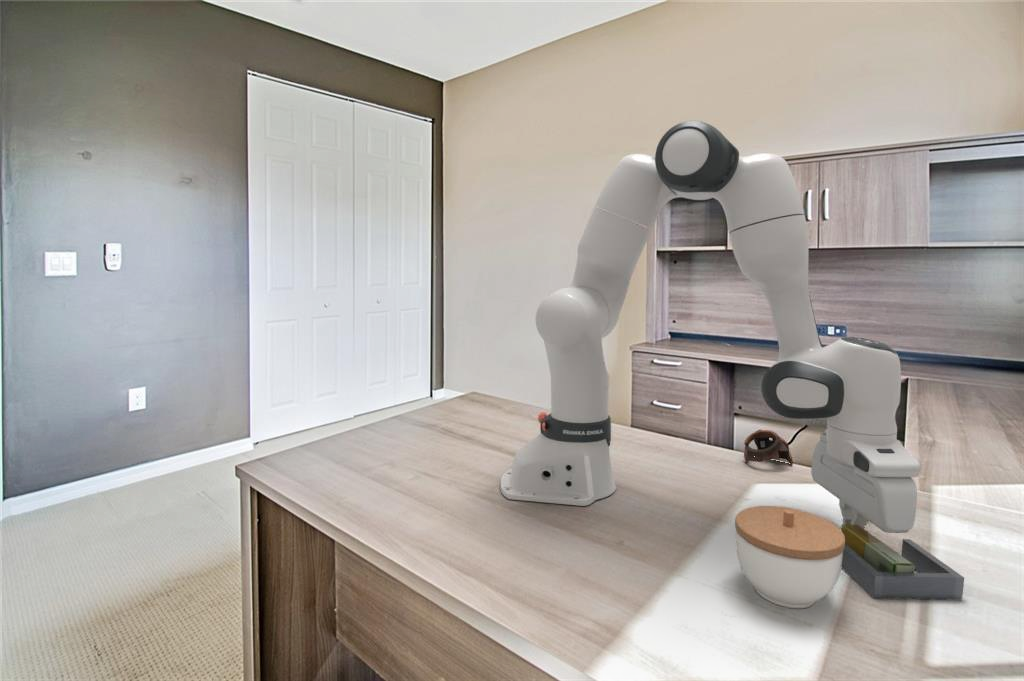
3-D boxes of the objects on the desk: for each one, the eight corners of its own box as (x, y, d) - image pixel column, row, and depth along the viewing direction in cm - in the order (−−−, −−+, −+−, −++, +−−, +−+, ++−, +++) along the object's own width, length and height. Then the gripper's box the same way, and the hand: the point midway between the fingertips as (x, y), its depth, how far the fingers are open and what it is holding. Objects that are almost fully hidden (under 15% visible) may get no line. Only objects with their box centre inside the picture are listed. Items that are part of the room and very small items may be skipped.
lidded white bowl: (733, 609, 67) (737, 524, 66) (731, 559, 79) (734, 486, 78) (850, 632, 63) (857, 542, 62) (830, 576, 75) (835, 499, 73)
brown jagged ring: (804, 473, 114) (791, 443, 112) (760, 489, 116) (747, 460, 114) (780, 441, 125) (768, 414, 123) (740, 457, 127) (728, 430, 125)
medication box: (913, 594, 70) (917, 565, 70) (893, 594, 70) (896, 565, 70) (855, 548, 82) (857, 523, 82) (837, 547, 82) (840, 522, 82)
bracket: (873, 598, 69) (875, 576, 69) (830, 557, 79) (832, 538, 79) (962, 599, 69) (964, 577, 69) (908, 558, 79) (909, 539, 79)
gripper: (803, 426, 92) (798, 503, 94) (881, 469, 72) (873, 567, 74) (841, 426, 92) (835, 504, 94) (930, 469, 72) (920, 568, 73)
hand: (853, 532), depth 83 cm, fingers closed
